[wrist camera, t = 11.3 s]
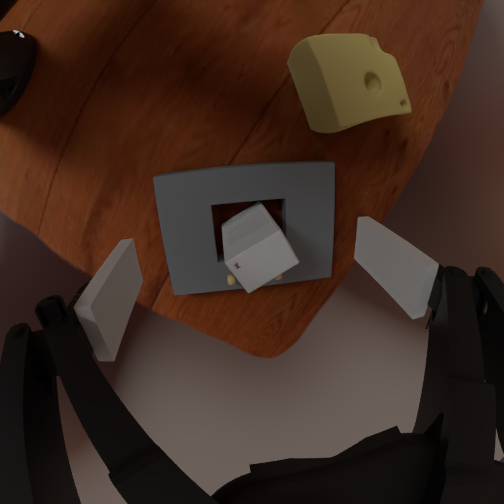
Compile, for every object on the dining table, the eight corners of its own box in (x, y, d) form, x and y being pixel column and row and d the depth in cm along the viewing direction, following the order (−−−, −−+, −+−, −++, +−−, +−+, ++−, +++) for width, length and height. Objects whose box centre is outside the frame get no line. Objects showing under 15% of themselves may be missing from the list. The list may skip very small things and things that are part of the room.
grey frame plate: (176, 286, 39) (173, 301, 35) (157, 174, 32) (149, 179, 29) (325, 269, 41) (334, 281, 37) (327, 160, 34) (339, 163, 31)
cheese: (349, 49, 28) (388, 29, 19) (373, 118, 32) (417, 117, 23) (280, 59, 28) (303, 34, 19) (307, 135, 33) (339, 134, 24)
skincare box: (238, 248, 38) (246, 295, 27) (220, 223, 36) (222, 262, 25) (276, 225, 37) (301, 263, 26) (260, 199, 35) (280, 227, 24)
